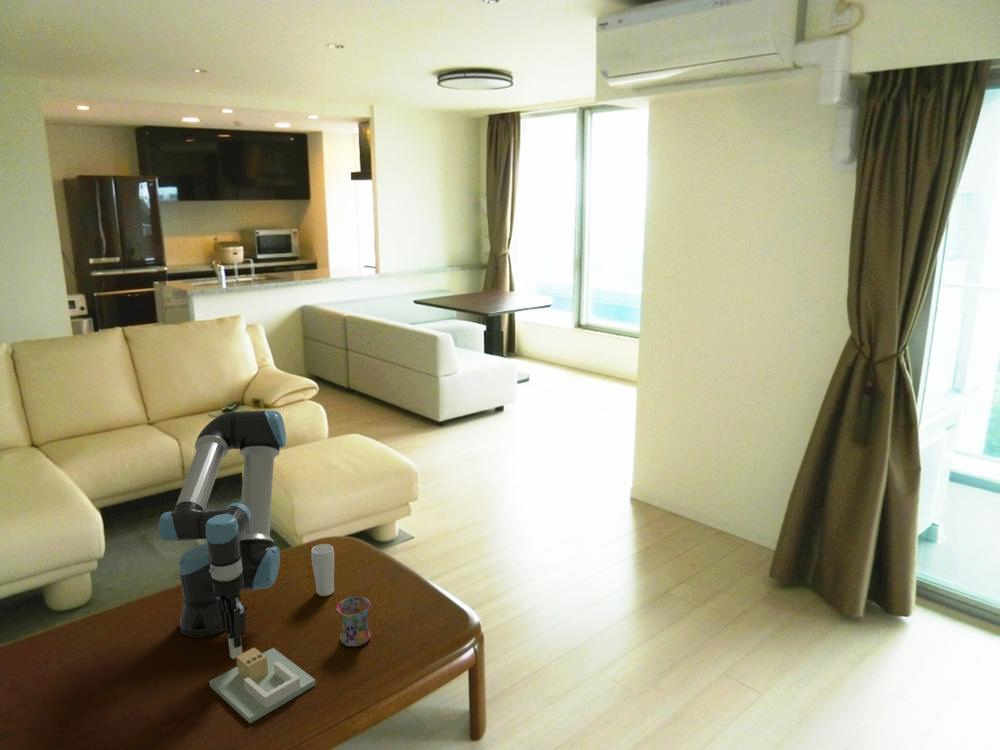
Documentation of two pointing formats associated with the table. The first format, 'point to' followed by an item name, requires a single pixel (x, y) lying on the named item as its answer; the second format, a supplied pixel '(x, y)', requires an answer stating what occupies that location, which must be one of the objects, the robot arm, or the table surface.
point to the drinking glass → (323, 568)
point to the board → (263, 687)
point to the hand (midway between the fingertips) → (236, 655)
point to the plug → (252, 664)
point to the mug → (354, 621)
